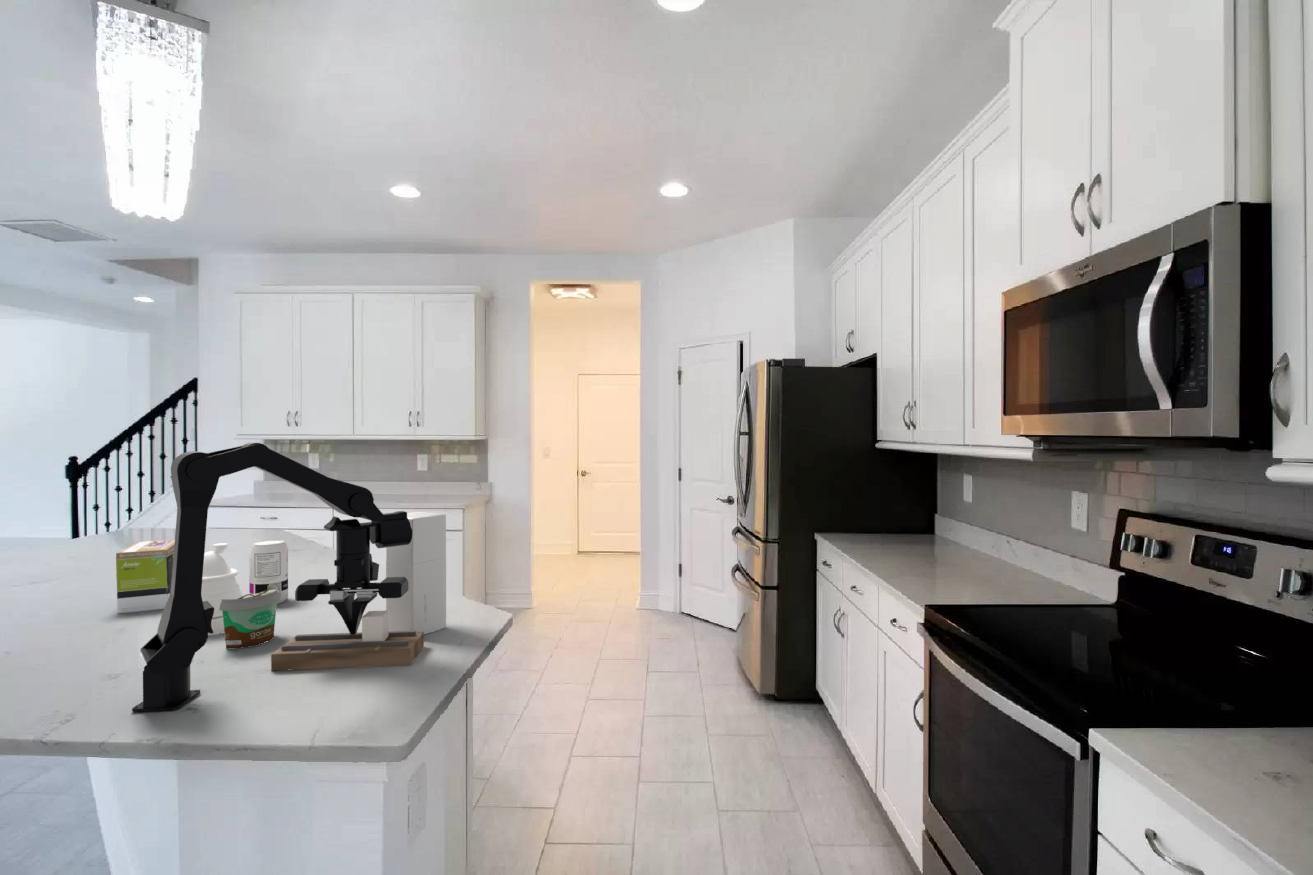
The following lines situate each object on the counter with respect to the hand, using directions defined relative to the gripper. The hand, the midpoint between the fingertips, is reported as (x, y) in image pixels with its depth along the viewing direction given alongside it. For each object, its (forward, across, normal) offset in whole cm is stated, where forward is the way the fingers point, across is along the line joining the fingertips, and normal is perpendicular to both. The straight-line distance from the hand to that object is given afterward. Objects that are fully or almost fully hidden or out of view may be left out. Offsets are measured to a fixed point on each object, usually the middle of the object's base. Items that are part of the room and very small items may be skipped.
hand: (353, 633), depth 119 cm
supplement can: (+5, +34, -43) cm, 55 cm away
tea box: (+5, +62, -45) cm, 77 cm away
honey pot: (+5, +37, -23) cm, 44 cm away
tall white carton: (+5, -8, -16) cm, 18 cm away
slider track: (+5, 0, 0) cm, 5 cm away
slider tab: (+1, -4, 0) cm, 4 cm away
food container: (+5, +22, -12) cm, 26 cm away
